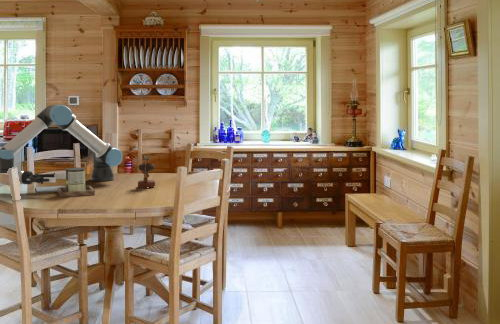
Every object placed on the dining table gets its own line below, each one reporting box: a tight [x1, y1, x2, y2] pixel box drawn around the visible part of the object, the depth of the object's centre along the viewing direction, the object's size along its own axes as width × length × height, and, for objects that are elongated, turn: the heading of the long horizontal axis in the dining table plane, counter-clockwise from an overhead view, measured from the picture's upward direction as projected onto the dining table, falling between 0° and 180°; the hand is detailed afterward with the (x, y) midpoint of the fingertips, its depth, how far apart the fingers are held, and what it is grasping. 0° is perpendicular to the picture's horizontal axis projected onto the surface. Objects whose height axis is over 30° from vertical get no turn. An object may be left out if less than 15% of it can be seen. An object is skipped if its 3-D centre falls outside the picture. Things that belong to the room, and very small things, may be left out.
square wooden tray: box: [57, 185, 96, 198], centre depth 289 cm, size 18×18×2 cm
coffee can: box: [65, 167, 86, 192], centre depth 288 cm, size 10×10×14 cm
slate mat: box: [35, 185, 66, 194], centre depth 300 cm, size 16×16×1 cm
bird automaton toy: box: [137, 154, 156, 189], centre depth 312 cm, size 15×11×20 cm
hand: (60, 178), depth 288 cm, fingers open, 13 cm apart
